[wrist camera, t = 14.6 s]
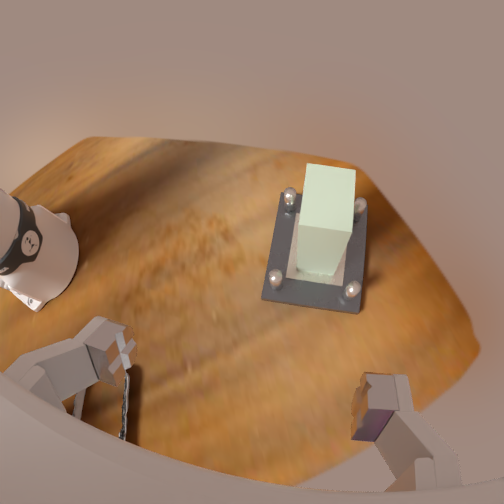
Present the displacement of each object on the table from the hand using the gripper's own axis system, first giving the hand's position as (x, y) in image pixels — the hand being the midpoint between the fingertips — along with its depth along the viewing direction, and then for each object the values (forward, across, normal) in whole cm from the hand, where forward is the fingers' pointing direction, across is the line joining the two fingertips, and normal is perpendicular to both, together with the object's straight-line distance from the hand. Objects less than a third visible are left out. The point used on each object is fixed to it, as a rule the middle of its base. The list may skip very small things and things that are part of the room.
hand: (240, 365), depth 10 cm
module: (+32, -3, +10) cm, 34 cm away
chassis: (+34, -3, +10) cm, 35 cm away
